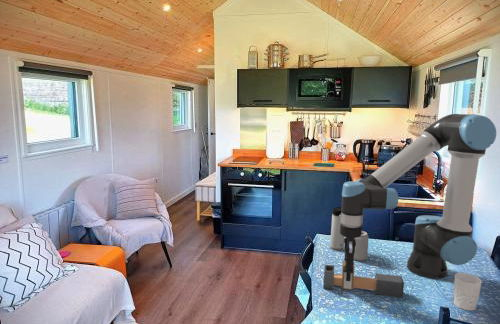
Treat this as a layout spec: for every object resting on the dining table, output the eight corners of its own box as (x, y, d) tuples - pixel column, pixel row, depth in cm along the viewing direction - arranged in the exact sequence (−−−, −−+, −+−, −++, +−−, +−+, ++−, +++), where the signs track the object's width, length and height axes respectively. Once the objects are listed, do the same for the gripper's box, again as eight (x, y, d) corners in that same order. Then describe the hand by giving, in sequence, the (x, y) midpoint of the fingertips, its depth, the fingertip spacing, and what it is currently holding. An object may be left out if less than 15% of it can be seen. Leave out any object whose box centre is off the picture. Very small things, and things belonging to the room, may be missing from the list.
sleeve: (400, 291, 132) (401, 276, 131) (402, 298, 127) (404, 282, 126) (374, 287, 134) (375, 273, 133) (375, 294, 129) (377, 279, 128)
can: (369, 257, 161) (370, 231, 159) (364, 263, 155) (366, 236, 153) (352, 253, 165) (354, 228, 163) (347, 259, 159) (349, 233, 157)
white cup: (478, 314, 118) (481, 286, 116) (450, 307, 122) (454, 279, 120) (478, 303, 124) (481, 276, 123) (452, 297, 128) (455, 270, 127)
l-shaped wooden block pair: (376, 287, 133) (378, 264, 131) (378, 293, 129) (380, 269, 128) (326, 281, 137) (327, 259, 135) (326, 286, 133) (327, 263, 132)
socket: (333, 282, 137) (334, 265, 136) (333, 289, 132) (334, 272, 130) (323, 281, 138) (324, 264, 137) (323, 288, 132) (324, 271, 131)
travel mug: (344, 251, 167) (347, 210, 164) (330, 250, 168) (332, 209, 165) (344, 246, 173) (346, 206, 170) (330, 245, 174) (332, 205, 171)
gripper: (339, 216, 139) (336, 273, 142) (340, 231, 122) (337, 295, 126) (360, 218, 137) (356, 275, 141) (363, 233, 121) (359, 298, 124)
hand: (347, 284), depth 133 cm, fingers closed on l-shaped wooden block pair, 4 cm apart
